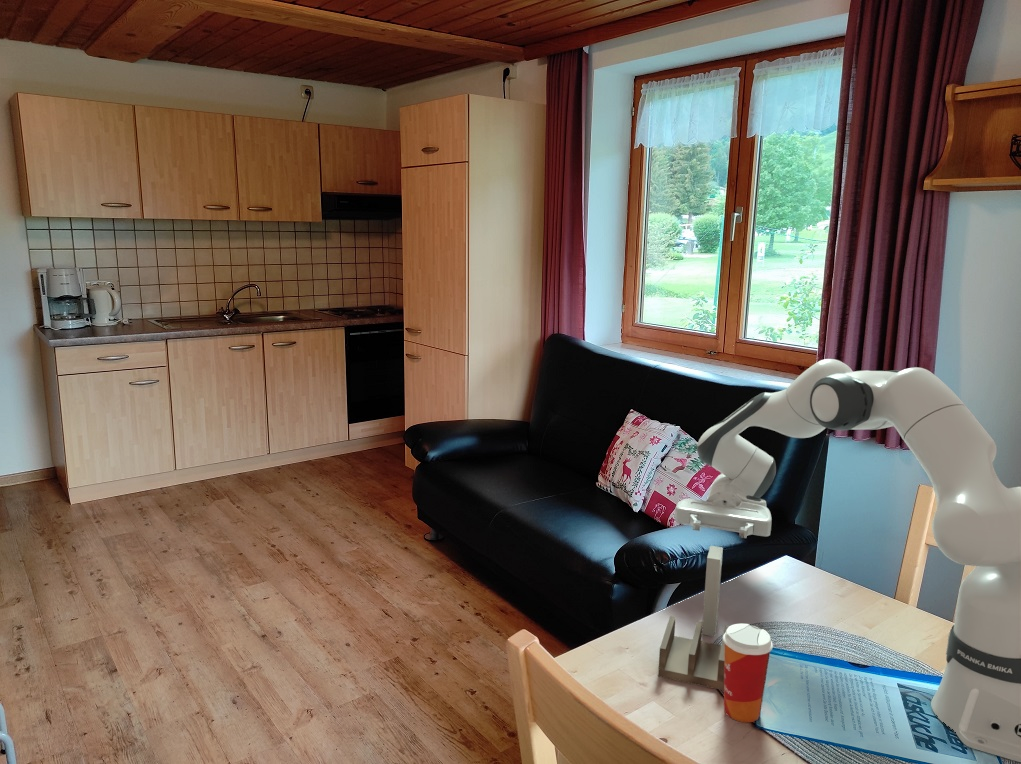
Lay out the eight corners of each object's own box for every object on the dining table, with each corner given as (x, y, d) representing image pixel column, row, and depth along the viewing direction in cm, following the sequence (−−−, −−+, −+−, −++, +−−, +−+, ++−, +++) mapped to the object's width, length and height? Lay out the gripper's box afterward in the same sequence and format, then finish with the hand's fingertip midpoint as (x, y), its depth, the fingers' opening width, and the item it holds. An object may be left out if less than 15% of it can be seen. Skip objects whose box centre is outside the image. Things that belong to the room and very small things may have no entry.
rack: (756, 659, 138) (758, 632, 137) (753, 696, 127) (755, 667, 126) (668, 642, 144) (670, 615, 142) (658, 676, 132) (659, 648, 131)
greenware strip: (717, 621, 151) (722, 547, 148) (714, 636, 146) (720, 559, 142) (705, 619, 152) (710, 545, 149) (701, 634, 146) (707, 557, 143)
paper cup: (729, 691, 128) (735, 616, 125) (773, 710, 124) (780, 632, 121) (709, 713, 122) (715, 635, 120) (755, 734, 118) (762, 653, 115)
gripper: (679, 488, 173) (670, 509, 160) (773, 501, 166) (771, 524, 153) (677, 513, 174) (668, 536, 161) (770, 527, 167) (768, 552, 154)
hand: (719, 530), depth 157 cm, fingers open, 8 cm apart
